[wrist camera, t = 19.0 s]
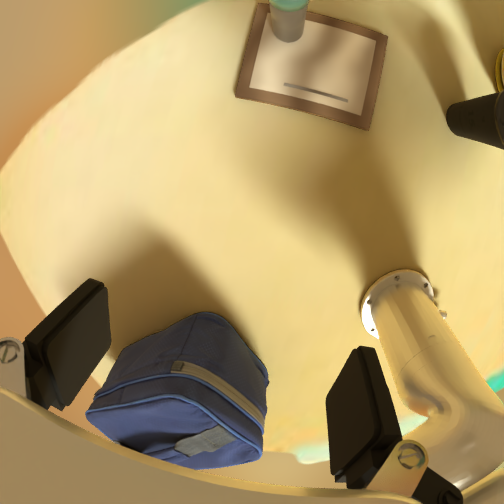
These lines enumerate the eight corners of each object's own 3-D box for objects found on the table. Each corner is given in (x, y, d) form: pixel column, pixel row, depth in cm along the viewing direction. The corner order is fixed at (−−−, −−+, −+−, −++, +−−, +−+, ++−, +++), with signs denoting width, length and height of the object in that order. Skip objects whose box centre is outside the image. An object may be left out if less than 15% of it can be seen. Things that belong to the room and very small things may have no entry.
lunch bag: (169, 415, 60) (143, 486, 41) (104, 355, 54) (57, 425, 36) (284, 377, 51) (280, 476, 32) (212, 294, 45) (169, 395, 26)
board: (385, 38, 28) (388, 35, 27) (366, 130, 34) (369, 130, 32) (259, 6, 28) (258, 1, 27) (236, 97, 34) (234, 96, 32)
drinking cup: (469, 90, 29) (565, 84, 10) (483, 140, 31) (580, 160, 13) (431, 98, 30) (529, 87, 12) (446, 150, 33) (546, 175, 14)
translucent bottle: (305, 23, 28) (314, -24, 16) (300, 47, 29) (307, 7, 17) (276, 18, 28) (271, -31, 16) (270, 41, 29) (262, -1, 17)
